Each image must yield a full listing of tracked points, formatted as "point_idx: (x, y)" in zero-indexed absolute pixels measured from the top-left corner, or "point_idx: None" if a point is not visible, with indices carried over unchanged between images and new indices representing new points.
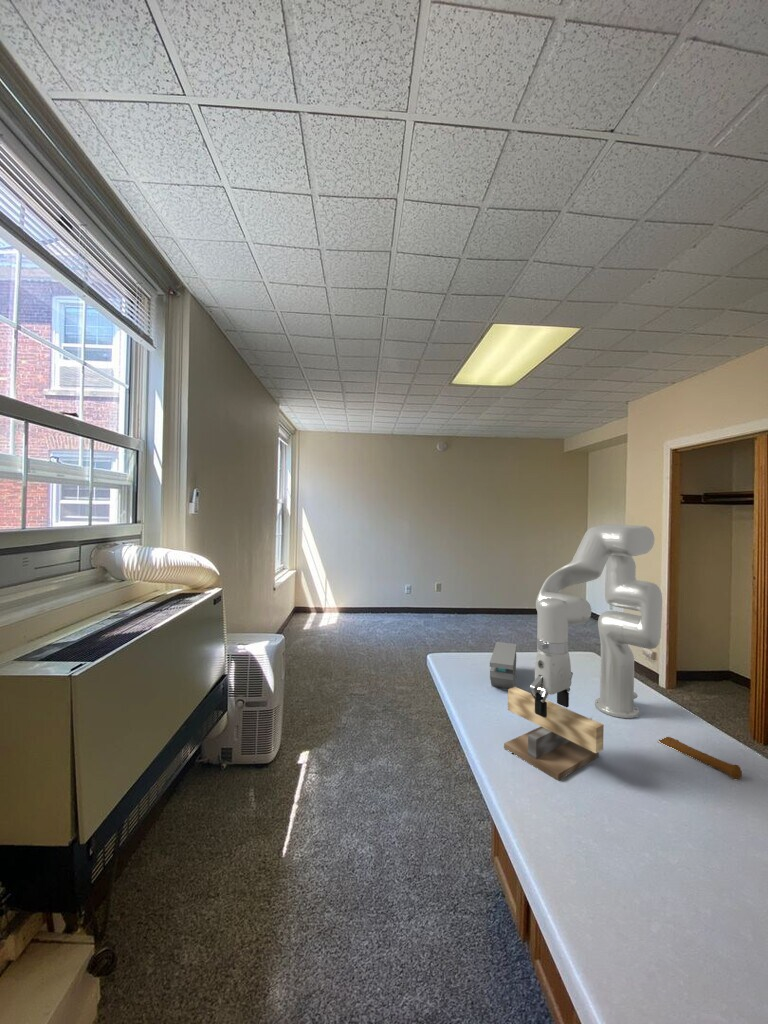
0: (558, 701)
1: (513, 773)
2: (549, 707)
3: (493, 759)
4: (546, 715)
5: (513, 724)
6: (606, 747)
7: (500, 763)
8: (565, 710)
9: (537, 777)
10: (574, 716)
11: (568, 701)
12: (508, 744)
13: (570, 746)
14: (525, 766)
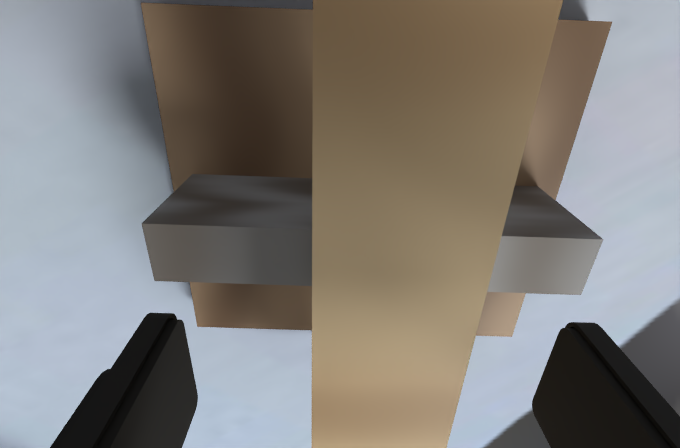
0: (187, 411)
1: (666, 196)
2: (458, 397)
3: (611, 299)
4: (587, 333)
5: (293, 392)
6: (21, 29)
7: (622, 269)
8: (378, 266)
9: (628, 110)
10: (467, 83)
11: (122, 361)
12: (508, 322)
13: (265, 143)
14: (571, 196)
